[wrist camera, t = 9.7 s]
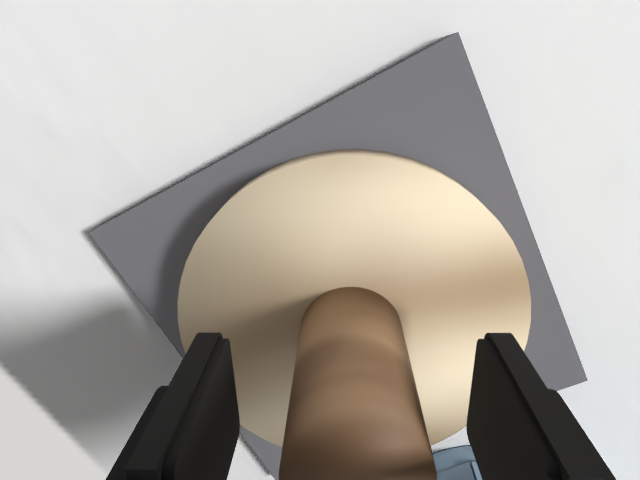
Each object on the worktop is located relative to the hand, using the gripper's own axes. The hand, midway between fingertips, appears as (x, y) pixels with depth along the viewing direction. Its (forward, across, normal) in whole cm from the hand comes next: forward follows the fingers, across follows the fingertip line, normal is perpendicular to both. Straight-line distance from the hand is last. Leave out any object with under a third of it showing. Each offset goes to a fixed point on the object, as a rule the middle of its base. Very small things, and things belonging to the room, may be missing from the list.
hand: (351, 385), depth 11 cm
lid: (+4, 0, 0) cm, 4 cm away
